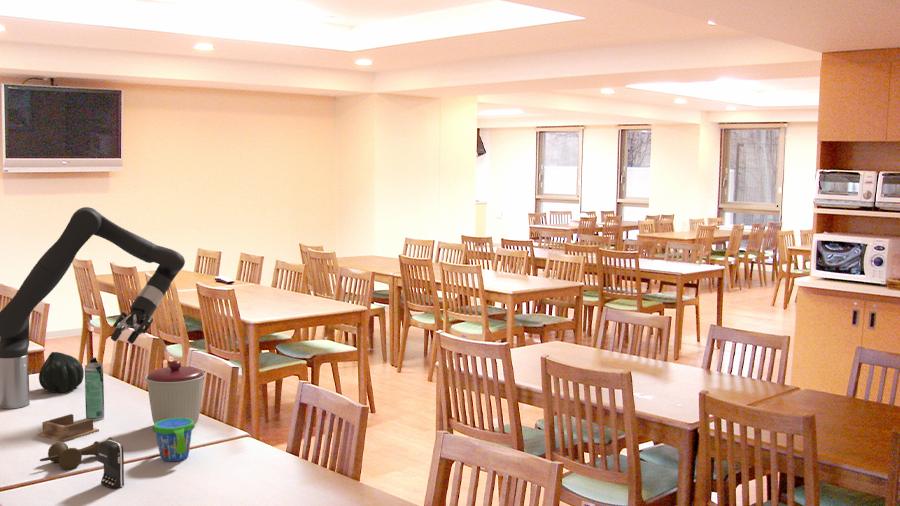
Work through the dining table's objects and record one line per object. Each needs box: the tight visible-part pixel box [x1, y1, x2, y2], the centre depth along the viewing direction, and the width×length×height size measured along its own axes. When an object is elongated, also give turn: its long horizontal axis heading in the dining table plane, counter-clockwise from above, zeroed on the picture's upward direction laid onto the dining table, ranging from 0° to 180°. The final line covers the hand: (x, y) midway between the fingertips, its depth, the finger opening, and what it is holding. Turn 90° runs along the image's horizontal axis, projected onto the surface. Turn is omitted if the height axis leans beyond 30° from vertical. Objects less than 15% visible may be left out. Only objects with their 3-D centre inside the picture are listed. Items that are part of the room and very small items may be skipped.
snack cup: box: [153, 418, 195, 462], centre depth 231 cm, size 16×10×10 cm
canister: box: [144, 360, 206, 426], centre depth 259 cm, size 18×18×21 cm
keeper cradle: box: [38, 413, 100, 443], centre depth 252 cm, size 12×12×4 cm
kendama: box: [39, 436, 115, 471], centre depth 227 cm, size 6×10×20 cm
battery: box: [96, 439, 125, 489], centre depth 210 cm, size 7×4×11 cm, turn 54°
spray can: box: [84, 357, 105, 422], centre depth 266 cm, size 6×6×20 cm
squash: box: [38, 351, 85, 393], centre depth 300 cm, size 14×15×15 cm
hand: (121, 341), depth 274 cm, fingers open, 8 cm apart
